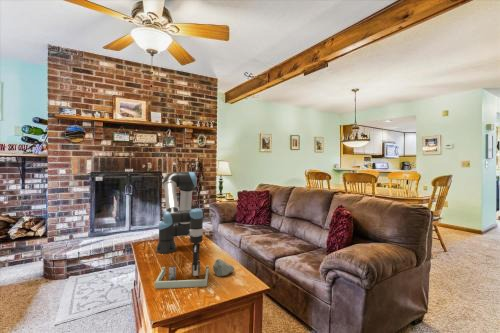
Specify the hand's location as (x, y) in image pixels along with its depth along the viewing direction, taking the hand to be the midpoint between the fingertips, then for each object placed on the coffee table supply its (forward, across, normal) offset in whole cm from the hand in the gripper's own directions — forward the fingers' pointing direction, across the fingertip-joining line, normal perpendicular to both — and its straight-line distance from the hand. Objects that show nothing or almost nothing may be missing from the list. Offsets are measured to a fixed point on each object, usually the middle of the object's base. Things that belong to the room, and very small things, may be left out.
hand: (196, 273), depth 151 cm
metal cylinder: (+3, 0, -14) cm, 14 cm away
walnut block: (0, 0, 0) cm, 0 cm away
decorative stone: (+3, -4, +17) cm, 18 cm away
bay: (+3, +2, -7) cm, 8 cm away
